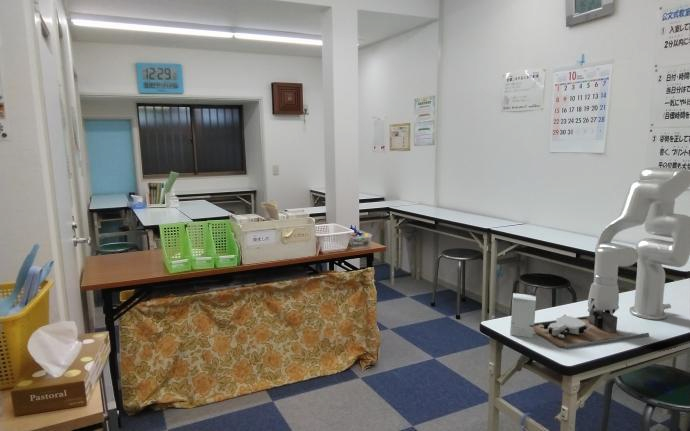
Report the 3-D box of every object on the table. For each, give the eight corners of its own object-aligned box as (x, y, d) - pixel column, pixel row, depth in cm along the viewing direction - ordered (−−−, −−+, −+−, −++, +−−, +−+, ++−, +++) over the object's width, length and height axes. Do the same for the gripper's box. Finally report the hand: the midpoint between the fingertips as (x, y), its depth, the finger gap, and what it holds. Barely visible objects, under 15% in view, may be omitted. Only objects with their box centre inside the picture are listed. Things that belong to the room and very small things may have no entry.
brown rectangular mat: (588, 319, 178) (589, 304, 177) (626, 338, 160) (627, 321, 159) (527, 327, 171) (527, 311, 170) (559, 348, 154) (560, 330, 153)
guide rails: (605, 316, 181) (605, 313, 180) (648, 336, 161) (649, 333, 161) (527, 326, 172) (528, 323, 172) (564, 349, 153) (564, 346, 153)
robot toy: (562, 345, 156) (594, 335, 161) (562, 333, 156) (594, 323, 161) (536, 332, 168) (566, 323, 173) (536, 321, 167) (566, 312, 172)
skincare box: (510, 335, 165) (511, 297, 163) (510, 329, 171) (512, 292, 168) (534, 338, 162) (536, 300, 160) (534, 332, 167) (536, 294, 165)
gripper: (615, 275, 171) (612, 320, 174) (579, 279, 167) (576, 325, 170) (632, 281, 164) (628, 328, 167) (594, 285, 160) (591, 333, 163)
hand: (602, 326), depth 168 cm, fingers closed on brown rectangular mat, 3 cm apart
